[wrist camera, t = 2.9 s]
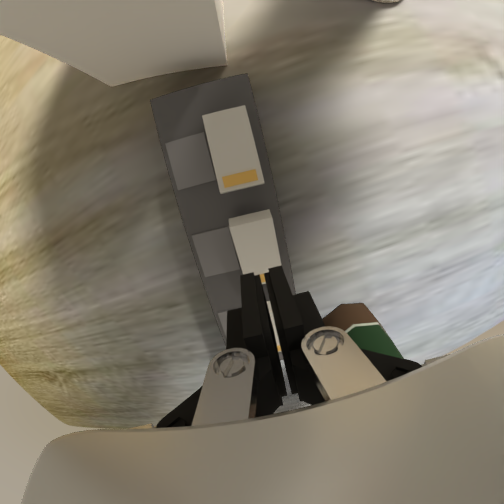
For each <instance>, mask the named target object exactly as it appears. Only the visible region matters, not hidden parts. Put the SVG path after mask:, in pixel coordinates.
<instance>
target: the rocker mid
mask: <svg viewBox="0 0 504 504" xmlns="http://www.w3.org/2000/svg"><path fill="white" fill-rule="evenodd" d="M229 228H230V232H231V235H232V239H233V242H234V245H235V249H236V252H237V255H238V259H239V262H240V266H241V269H242V272H243V274H248V273H252V272H254V275H259V274H260V278H261V282H262V284H266V281H265V277H264V273H267V272H269V270H268V268H272V267H276V266H281V260H280V255H279V249H278V244H277V239H276V234H275V229H274V224H273V219H272V215H271V213H270V210H269V209H268V210H263V211H259V212H255V213H250V214H246V215H242V216H238V217H234V218H230V219H229Z"/></svg>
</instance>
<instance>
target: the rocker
mask: <svg viewBox="0 0 504 504" xmlns="http://www.w3.org/2000/svg"><path fill="white" fill-rule="evenodd" d="M202 118H203V122H204V127H205V131H206V135H207V140H208V144H209V148H210V153H211V157H212V161H213V165H214V169H215V174H216V178H217V182H218V186H219V190H220V194H224V193H228V192H232V191H236V190H240V189H244V188H249V187H253V186H257V185H262V184H264V183H265V182H264V178H263V174H262V170H261V166H260V162H259V158H258V154H257V150H256V146H255V142H254V138H253V134H252V130H251V126H250V122H249V118H248V114H247V110H246V107H245V105H243V106H239V107H234V108H230V109H226V110H222V111H218V112H214V113H210V114H206V115H202Z"/></svg>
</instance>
